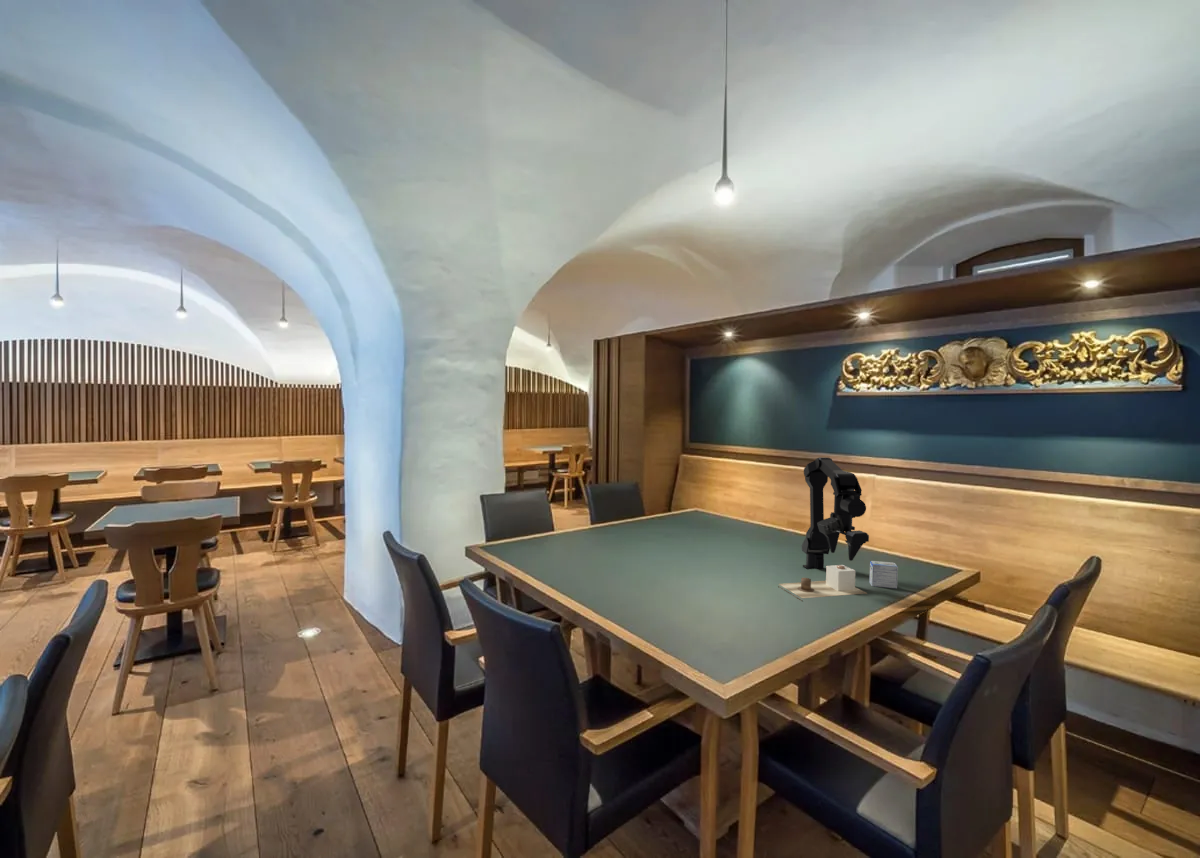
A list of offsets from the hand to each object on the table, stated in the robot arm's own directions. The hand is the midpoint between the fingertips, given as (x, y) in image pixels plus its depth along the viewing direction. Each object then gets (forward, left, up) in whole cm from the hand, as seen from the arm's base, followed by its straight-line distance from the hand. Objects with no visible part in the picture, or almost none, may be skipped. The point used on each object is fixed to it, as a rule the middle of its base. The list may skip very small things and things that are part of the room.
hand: (841, 556), depth 183 cm
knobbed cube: (0, 0, -10) cm, 10 cm away
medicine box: (+1, +16, -12) cm, 20 cm away
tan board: (0, -7, -11) cm, 13 cm away
